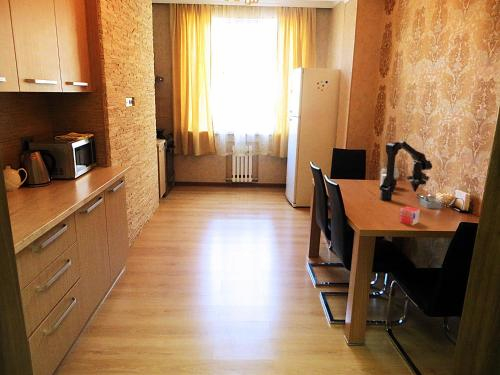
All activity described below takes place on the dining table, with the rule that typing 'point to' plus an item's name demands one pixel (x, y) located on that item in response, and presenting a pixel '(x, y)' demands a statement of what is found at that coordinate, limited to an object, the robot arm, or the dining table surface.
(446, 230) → the dining table surface
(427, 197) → the pin mount
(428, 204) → the socket
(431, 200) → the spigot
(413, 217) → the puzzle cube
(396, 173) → the chalice
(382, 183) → the supplement box
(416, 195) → the lock pin
